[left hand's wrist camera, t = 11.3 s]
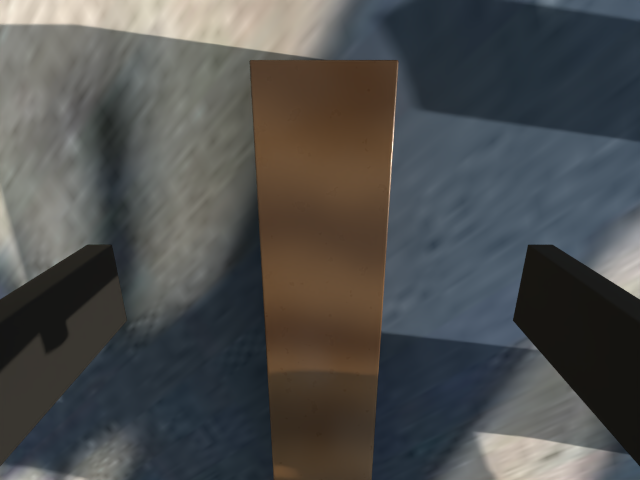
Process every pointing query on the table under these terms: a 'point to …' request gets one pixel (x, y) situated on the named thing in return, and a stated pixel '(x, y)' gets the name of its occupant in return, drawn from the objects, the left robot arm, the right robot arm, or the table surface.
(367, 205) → the wide beam
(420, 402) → the table surface
